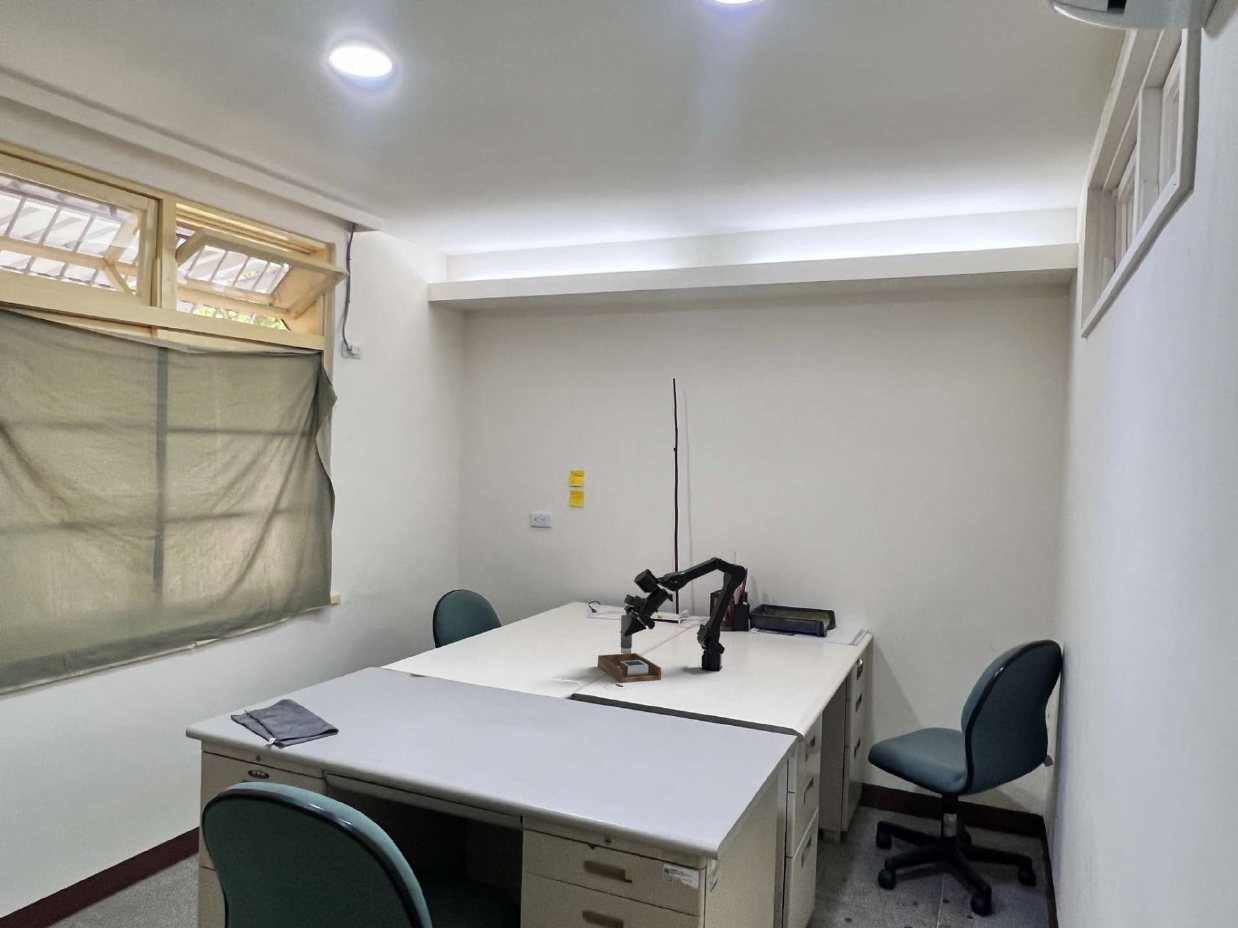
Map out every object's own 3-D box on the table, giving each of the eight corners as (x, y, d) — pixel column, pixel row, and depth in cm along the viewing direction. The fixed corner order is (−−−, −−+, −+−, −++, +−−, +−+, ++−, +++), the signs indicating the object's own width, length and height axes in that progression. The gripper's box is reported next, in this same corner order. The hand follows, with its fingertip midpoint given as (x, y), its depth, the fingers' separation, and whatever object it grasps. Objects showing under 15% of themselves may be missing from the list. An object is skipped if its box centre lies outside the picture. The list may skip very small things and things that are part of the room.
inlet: (639, 672, 288) (639, 659, 288) (648, 678, 281) (648, 664, 281) (619, 674, 285) (619, 661, 285) (627, 679, 278) (627, 666, 278)
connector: (632, 651, 291) (633, 614, 291) (630, 654, 287) (631, 616, 287) (621, 650, 291) (622, 614, 291) (619, 653, 288) (620, 616, 288)
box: (635, 665, 301) (635, 652, 301) (660, 680, 279) (661, 667, 279) (597, 667, 295) (598, 655, 295) (620, 684, 274) (620, 670, 274)
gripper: (629, 582, 299) (599, 614, 296) (647, 590, 281) (615, 624, 278) (649, 603, 302) (620, 635, 298) (668, 612, 284) (637, 646, 280)
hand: (622, 634), depth 289 cm, fingers closed on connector, 4 cm apart
